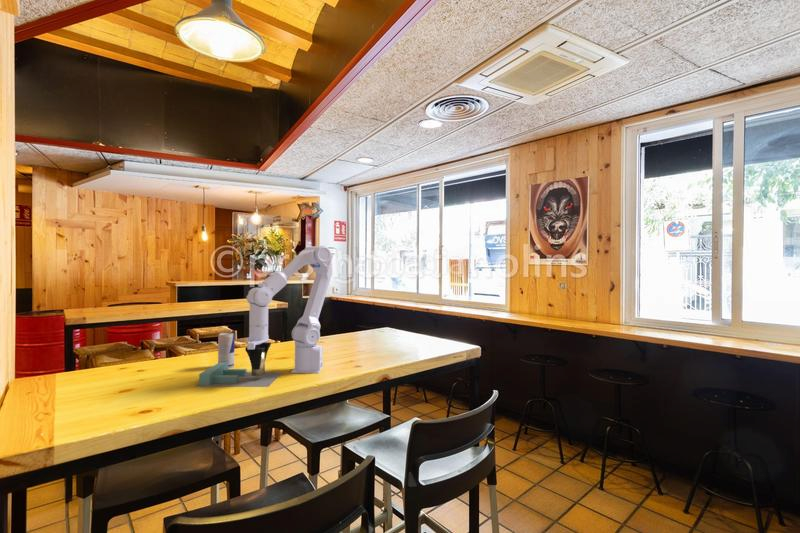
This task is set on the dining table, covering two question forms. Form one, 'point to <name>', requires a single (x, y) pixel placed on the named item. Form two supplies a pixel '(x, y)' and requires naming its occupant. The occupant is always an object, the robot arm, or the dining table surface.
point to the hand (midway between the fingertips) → (258, 367)
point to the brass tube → (262, 367)
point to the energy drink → (226, 348)
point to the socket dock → (220, 374)
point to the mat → (250, 380)
